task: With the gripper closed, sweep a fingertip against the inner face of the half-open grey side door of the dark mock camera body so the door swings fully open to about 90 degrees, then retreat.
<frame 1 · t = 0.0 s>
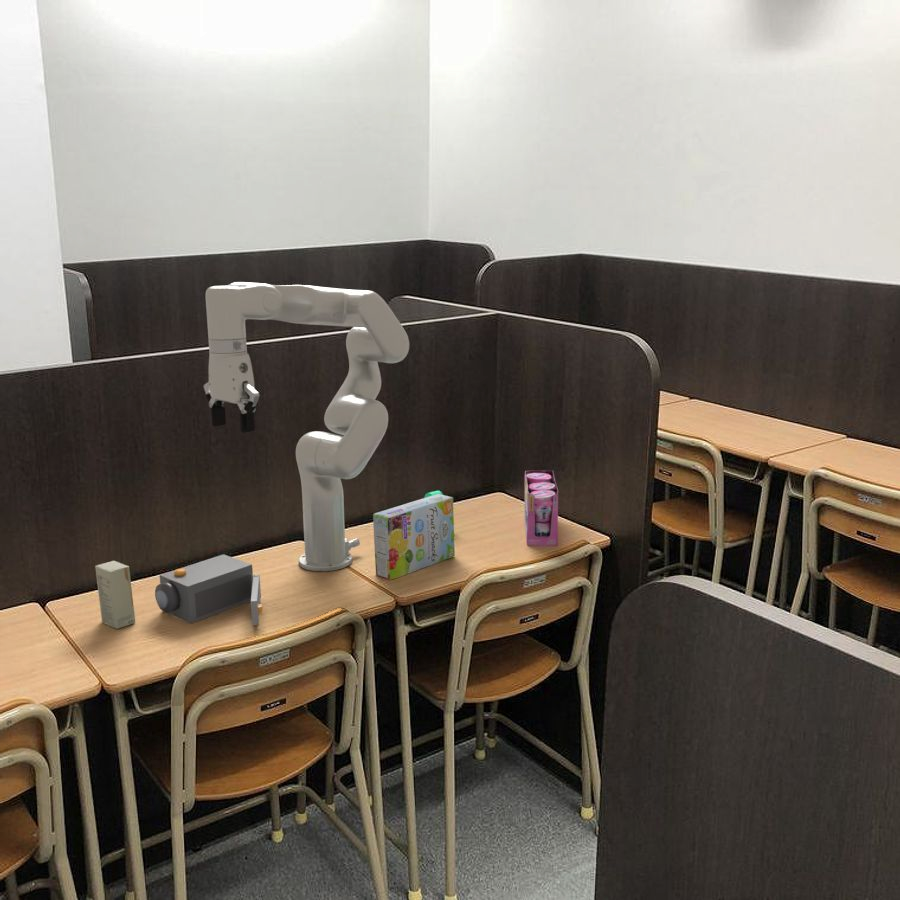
hand: (233, 428, 198), 37 cm above the table, tool pointing down, fingers open, 9 cm apart
skincare box: (118, 623, 192), on the table
side door: (257, 598, 194), point 3 cm above the table, hinge at 50.0°
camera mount: (428, 532, 247), on the table
snack box: (415, 566, 222), on the table
gum box: (540, 532, 245), on the table
camera body: (209, 605, 200), on the table
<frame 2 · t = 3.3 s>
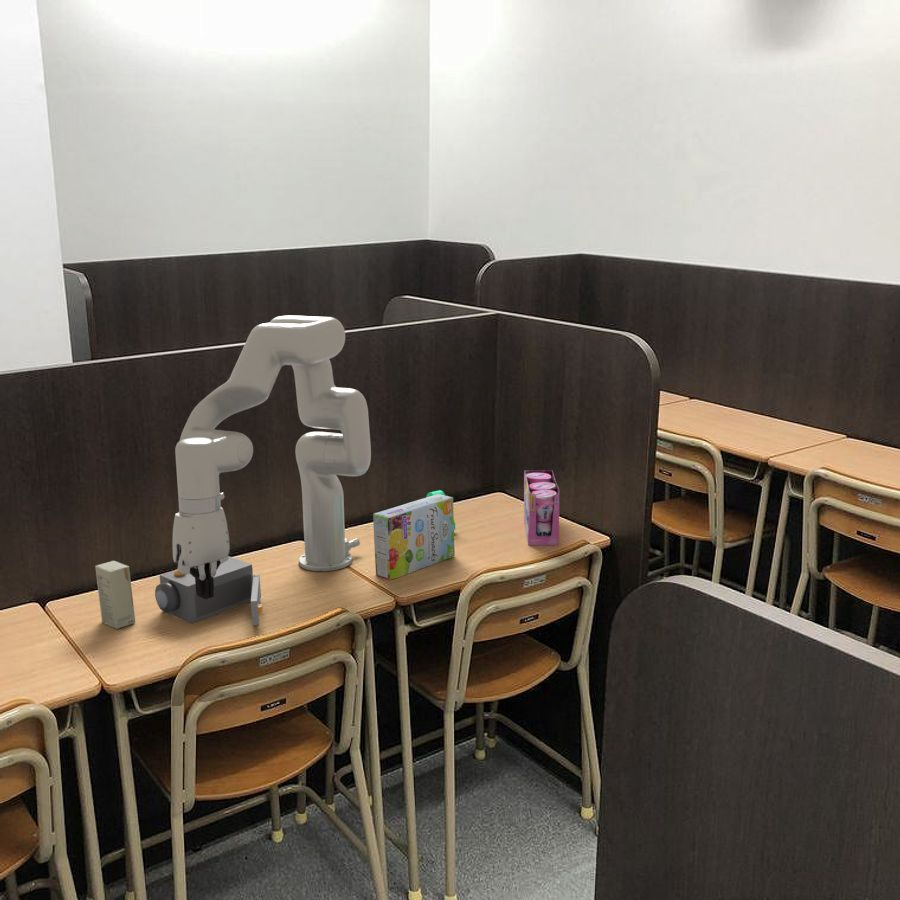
hand: (205, 596, 180), 9 cm above the table, tool pointing down, fingers closed
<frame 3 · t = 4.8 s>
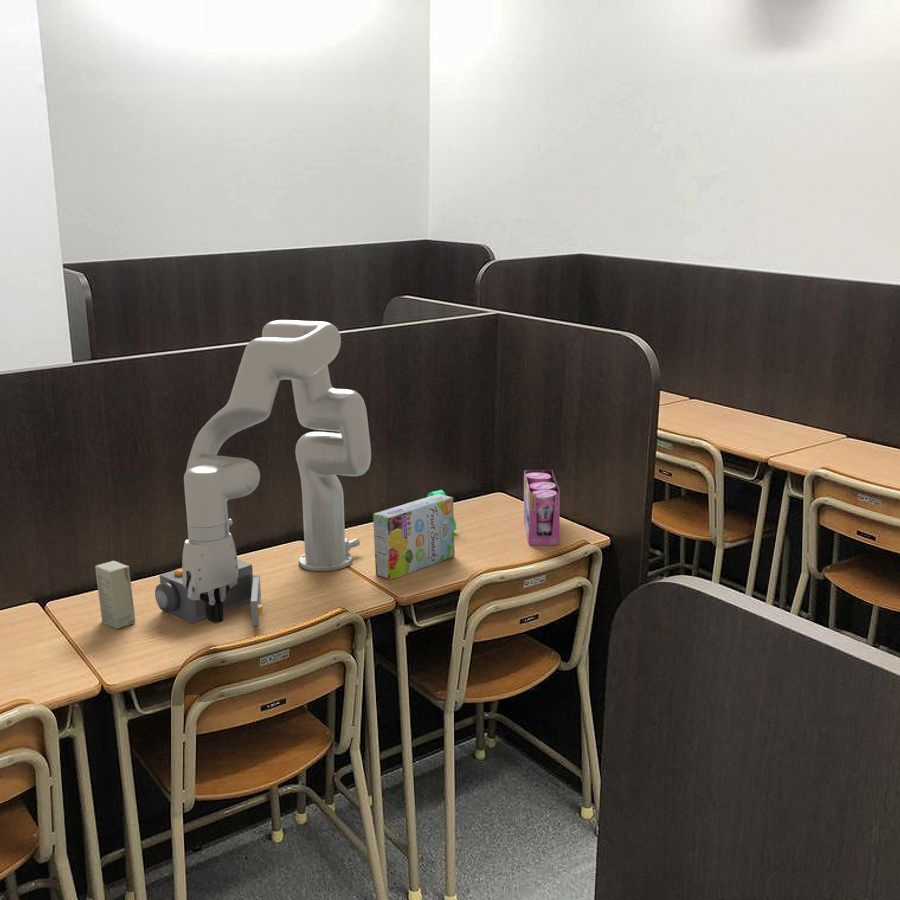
hand: (215, 620, 183), 4 cm above the table, tool pointing down, fingers closed
nothing on the table moved.
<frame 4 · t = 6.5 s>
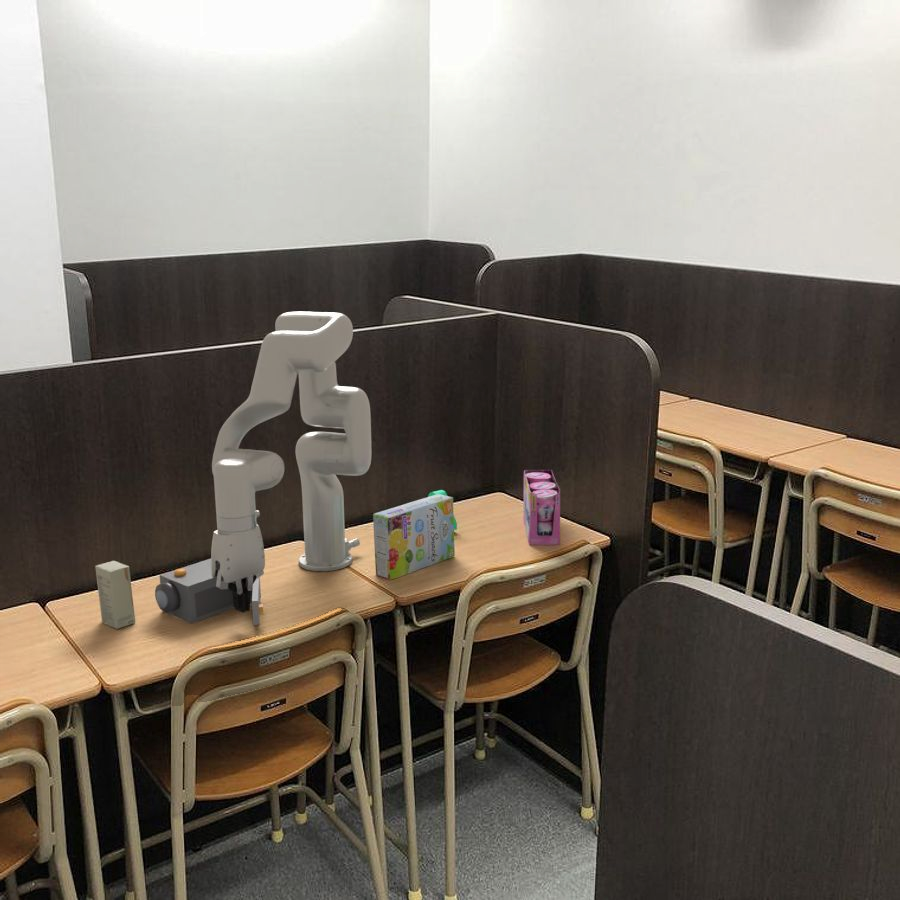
hand: (242, 609, 188), 4 cm above the table, tool pointing down, fingers closed
side door: (258, 598, 195), point 3 cm above the table, hinge at 50.9°, touching gripper
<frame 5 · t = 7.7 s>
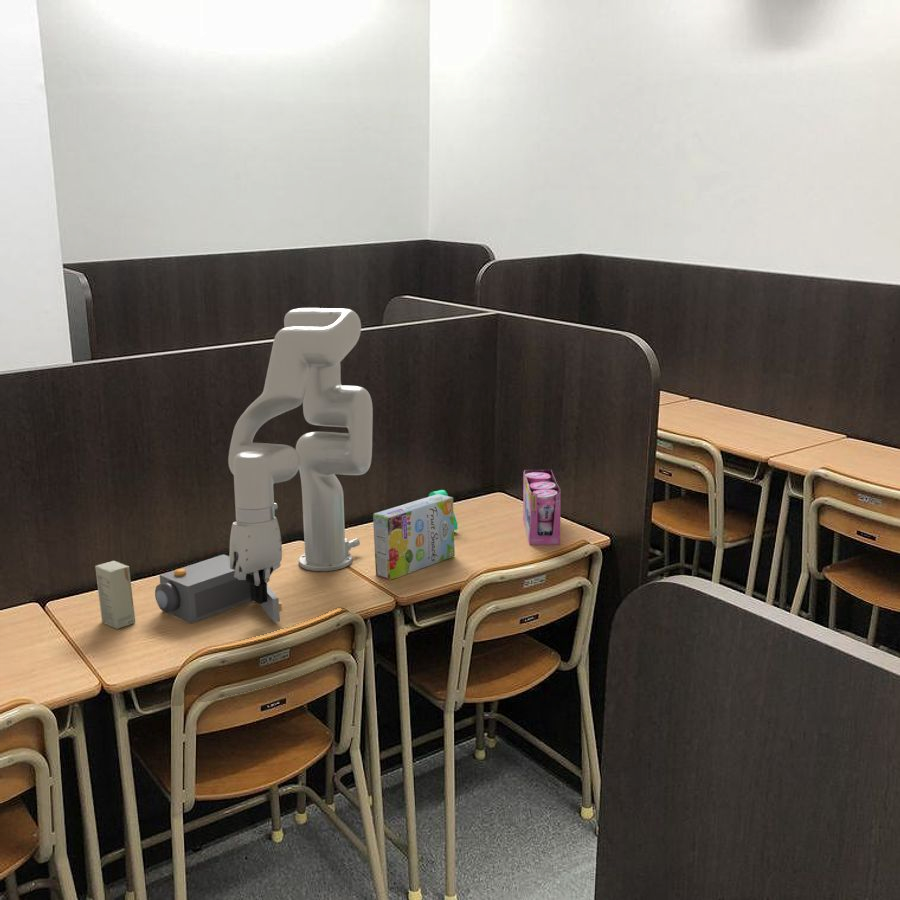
hand: (259, 601, 190), 4 cm above the table, tool pointing down, fingers closed
side door: (267, 597, 195), point 3 cm above the table, hinge at 67.4°, touching gripper
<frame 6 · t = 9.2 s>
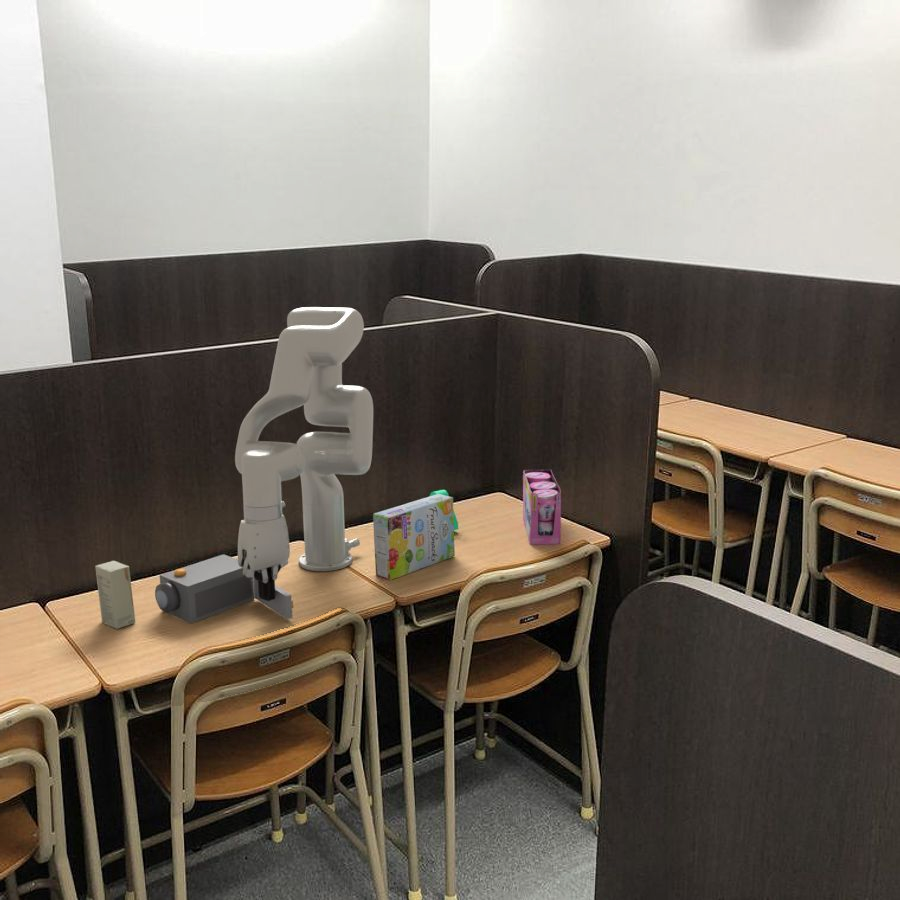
hand: (267, 598, 192), 4 cm above the table, tool pointing down, fingers closed
side door: (273, 595, 196), point 3 cm above the table, hinge at 78.5°, touching gripper
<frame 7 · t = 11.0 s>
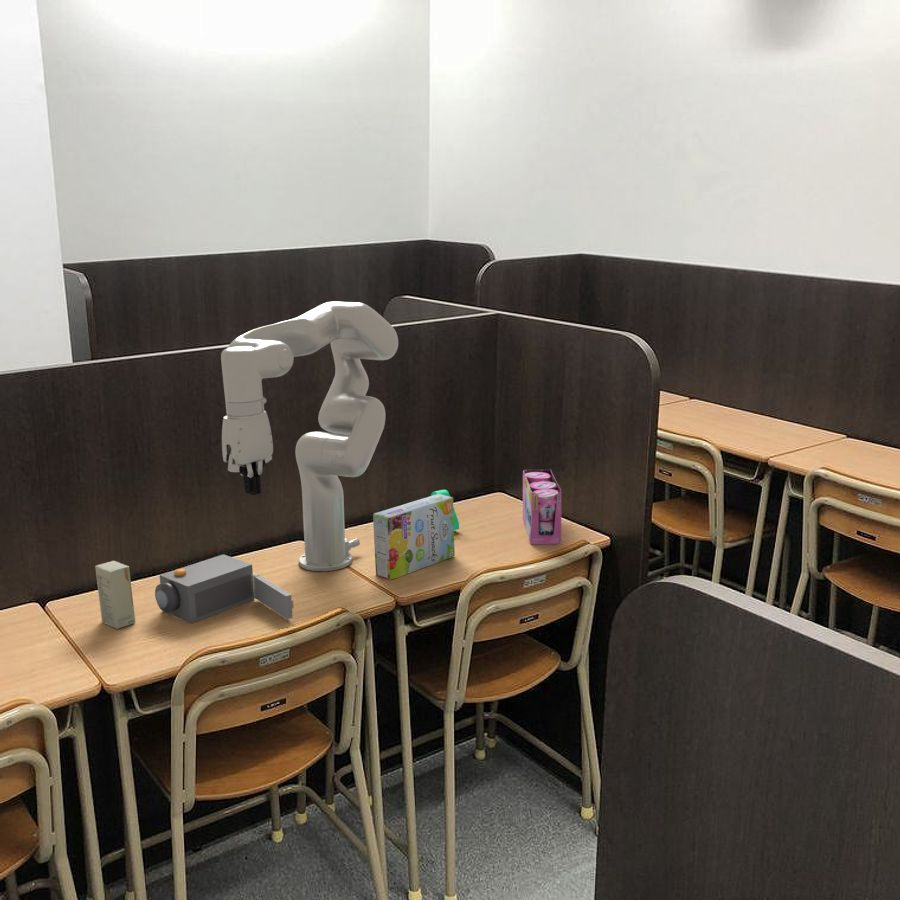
hand: (253, 493, 197), 24 cm above the table, tool pointing down, fingers closed
side door: (273, 595, 196), point 3 cm above the table, hinge at 78.6°
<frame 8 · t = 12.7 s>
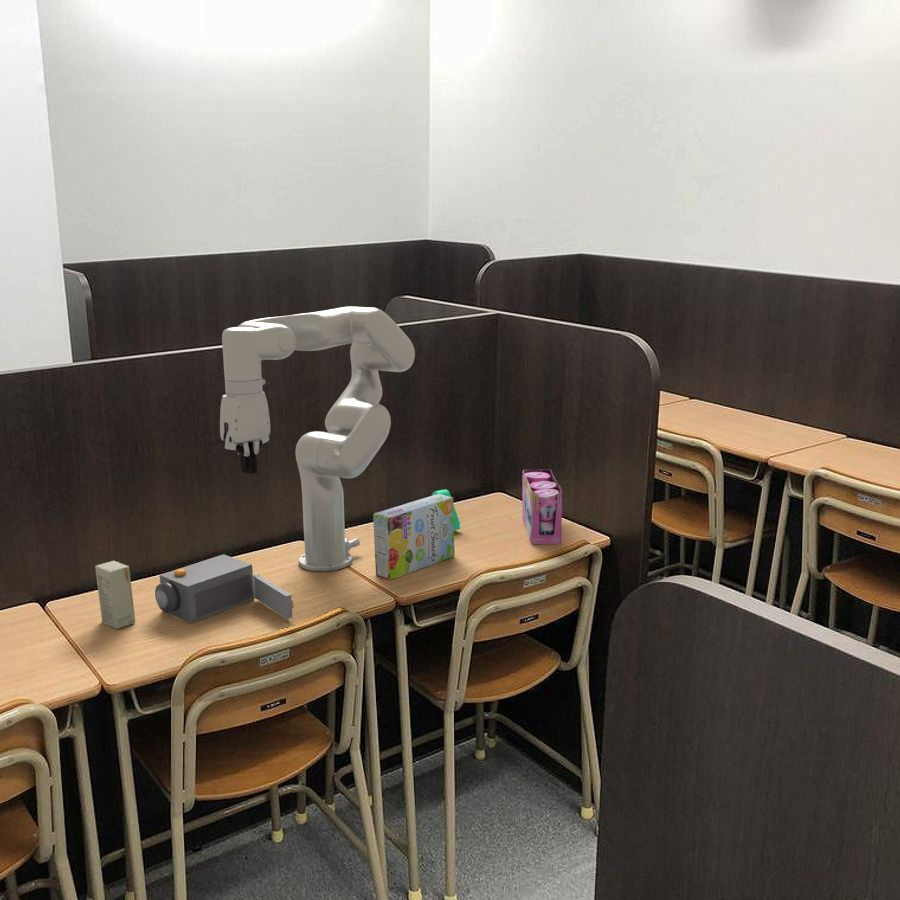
hand: (249, 472, 200), 27 cm above the table, tool pointing down, fingers closed
at the end: side door at +79° (first picture: +50°) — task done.
